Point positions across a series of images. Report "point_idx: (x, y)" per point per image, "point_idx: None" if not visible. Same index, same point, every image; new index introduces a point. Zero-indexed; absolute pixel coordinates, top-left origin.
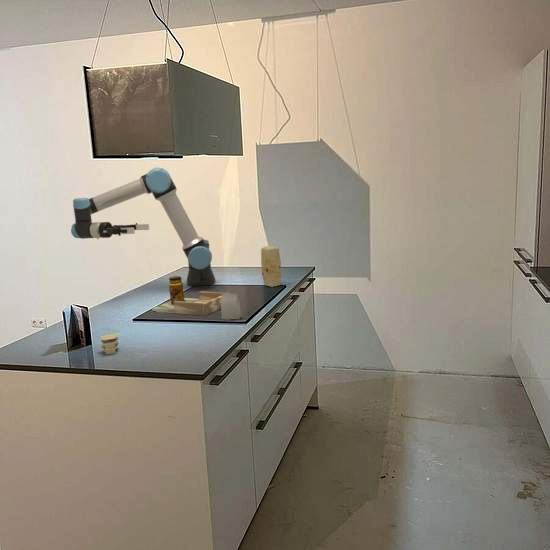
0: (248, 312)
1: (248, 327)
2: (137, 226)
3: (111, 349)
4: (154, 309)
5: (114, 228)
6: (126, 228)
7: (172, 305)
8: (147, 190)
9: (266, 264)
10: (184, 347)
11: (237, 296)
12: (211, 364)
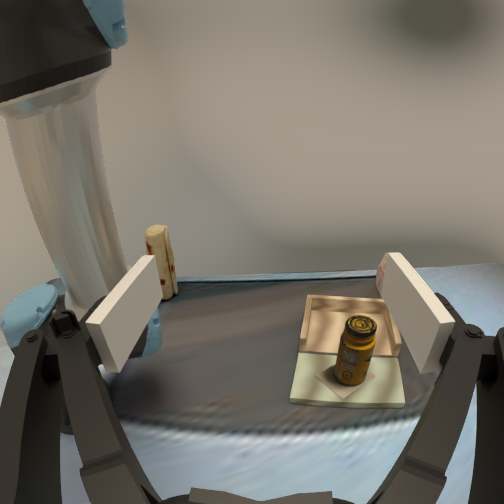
0: (349, 284)
1: None
2: (113, 331)
3: None
4: (403, 398)
5: (460, 430)
6: (425, 287)
7: (372, 374)
8: None
9: (171, 258)
10: (485, 287)
11: (384, 255)
12: (489, 263)
